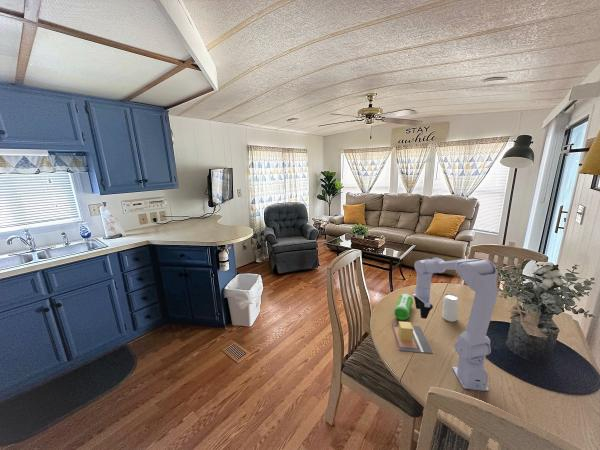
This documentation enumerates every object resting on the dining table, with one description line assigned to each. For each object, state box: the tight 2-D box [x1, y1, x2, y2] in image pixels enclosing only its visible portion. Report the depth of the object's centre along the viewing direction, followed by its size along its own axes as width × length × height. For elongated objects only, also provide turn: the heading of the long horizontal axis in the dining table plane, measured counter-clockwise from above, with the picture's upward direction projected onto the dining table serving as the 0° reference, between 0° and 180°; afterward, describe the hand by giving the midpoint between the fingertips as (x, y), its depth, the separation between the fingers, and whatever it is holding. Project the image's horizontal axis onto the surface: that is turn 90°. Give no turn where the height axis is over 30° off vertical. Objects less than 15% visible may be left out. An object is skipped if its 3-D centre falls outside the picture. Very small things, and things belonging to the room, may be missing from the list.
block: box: [398, 320, 413, 341], centre depth 111 cm, size 5×5×6 cm
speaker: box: [393, 293, 414, 321], centre depth 131 cm, size 18×7×8 cm, turn 150°
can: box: [441, 293, 460, 323], centre depth 124 cm, size 6×6×12 cm
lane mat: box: [391, 324, 434, 354], centre depth 111 cm, size 18×13×1 cm
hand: (421, 313), depth 112 cm, fingers open, 7 cm apart
